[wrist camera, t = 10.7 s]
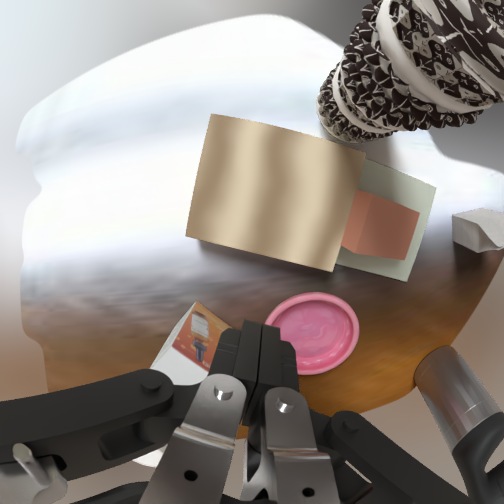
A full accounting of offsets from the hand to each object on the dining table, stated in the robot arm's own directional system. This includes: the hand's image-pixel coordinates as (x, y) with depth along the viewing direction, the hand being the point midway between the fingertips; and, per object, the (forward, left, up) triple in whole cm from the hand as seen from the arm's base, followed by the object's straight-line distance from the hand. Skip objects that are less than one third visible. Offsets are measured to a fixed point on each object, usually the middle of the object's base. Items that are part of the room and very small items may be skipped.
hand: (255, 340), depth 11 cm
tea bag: (-28, -9, -22) cm, 37 cm away
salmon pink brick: (-12, -4, -20) cm, 23 cm away
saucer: (-9, +11, -22) cm, 26 cm away
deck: (0, -5, -22) cm, 22 cm away
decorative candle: (-6, -17, -22) cm, 28 cm away
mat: (-14, -5, -22) cm, 26 cm away
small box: (+4, +15, -22) cm, 27 cm away
